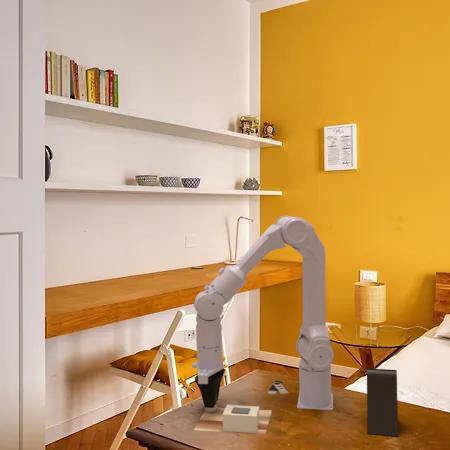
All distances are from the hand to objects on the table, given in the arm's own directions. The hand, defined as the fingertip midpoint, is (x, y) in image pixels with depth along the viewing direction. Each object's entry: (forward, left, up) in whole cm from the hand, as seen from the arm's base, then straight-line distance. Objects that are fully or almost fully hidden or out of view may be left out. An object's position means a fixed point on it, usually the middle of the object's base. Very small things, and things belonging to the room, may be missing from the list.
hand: (211, 404), depth 120 cm
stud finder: (+7, +8, -2) cm, 11 cm away
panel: (+4, +6, -2) cm, 7 cm away
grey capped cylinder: (0, 0, -1) cm, 1 cm away
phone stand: (+2, +37, -2) cm, 37 cm away
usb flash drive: (-16, +14, -3) cm, 22 cm away
